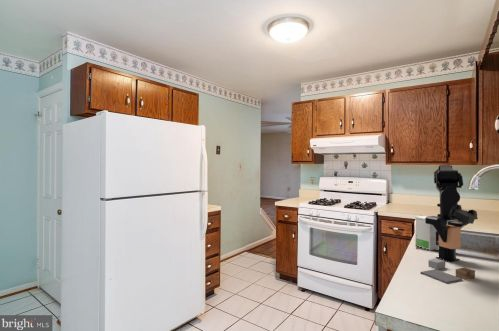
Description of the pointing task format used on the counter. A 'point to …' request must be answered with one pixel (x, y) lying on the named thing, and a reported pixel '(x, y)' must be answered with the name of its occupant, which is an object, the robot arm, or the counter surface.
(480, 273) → the counter surface
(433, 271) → the charcoal mat
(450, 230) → the terracotta block
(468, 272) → the walnut block
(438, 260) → the grey plastic block
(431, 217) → the robot arm
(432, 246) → the skincare box
